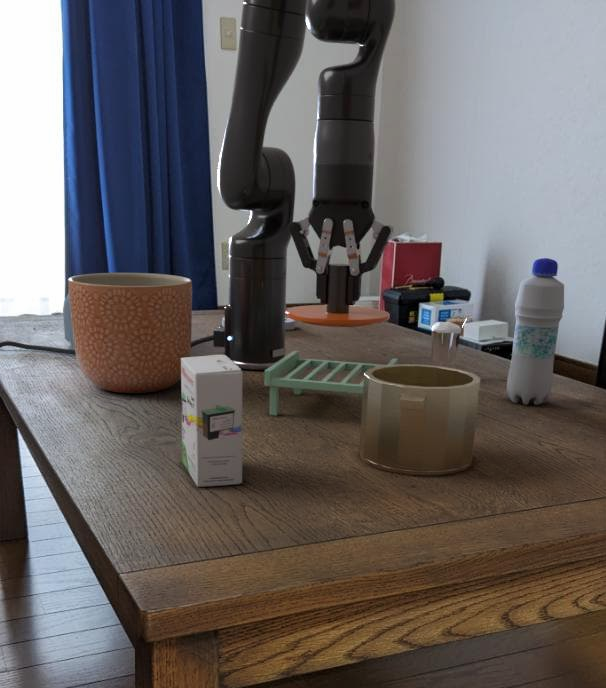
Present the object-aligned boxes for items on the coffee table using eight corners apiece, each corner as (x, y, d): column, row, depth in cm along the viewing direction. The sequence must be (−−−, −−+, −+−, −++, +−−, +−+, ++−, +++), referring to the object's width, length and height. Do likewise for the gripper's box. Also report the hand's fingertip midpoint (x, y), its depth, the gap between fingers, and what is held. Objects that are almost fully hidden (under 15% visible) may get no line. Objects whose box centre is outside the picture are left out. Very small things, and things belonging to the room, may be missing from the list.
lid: (273, 325, 114) (274, 266, 111) (299, 311, 126) (300, 258, 124) (380, 332, 111) (384, 272, 108) (396, 317, 124) (399, 263, 121)
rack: (263, 415, 118) (264, 370, 116) (292, 391, 132) (293, 350, 129) (377, 426, 115) (380, 380, 112) (395, 400, 128) (398, 358, 126)
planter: (158, 405, 121) (154, 289, 115) (51, 391, 126) (42, 280, 121) (212, 381, 136) (212, 277, 130) (115, 370, 141) (110, 270, 136)
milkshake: (460, 384, 140) (467, 319, 136) (426, 382, 141) (431, 317, 137) (461, 378, 144) (468, 315, 140) (428, 376, 145) (433, 313, 141)
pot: (345, 476, 95) (350, 387, 92) (374, 433, 112) (379, 356, 108) (465, 488, 93) (474, 398, 89) (476, 443, 109) (484, 365, 105)
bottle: (552, 399, 132) (572, 257, 125) (548, 409, 126) (569, 261, 119) (506, 394, 134) (523, 255, 127) (500, 404, 128) (518, 258, 121)
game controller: (294, 325, 188) (294, 316, 188) (296, 336, 177) (296, 326, 176) (223, 323, 188) (223, 314, 187) (219, 334, 176) (219, 324, 175)
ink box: (180, 463, 98) (178, 354, 93) (225, 460, 99) (225, 353, 95) (196, 488, 90) (194, 371, 86) (243, 485, 92) (244, 370, 87)
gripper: (404, 163, 113) (394, 303, 120) (296, 160, 116) (293, 297, 123) (395, 162, 107) (386, 311, 113) (281, 159, 110) (278, 304, 116)
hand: (337, 303), depth 118 cm, fingers closed on lid, 3 cm apart
